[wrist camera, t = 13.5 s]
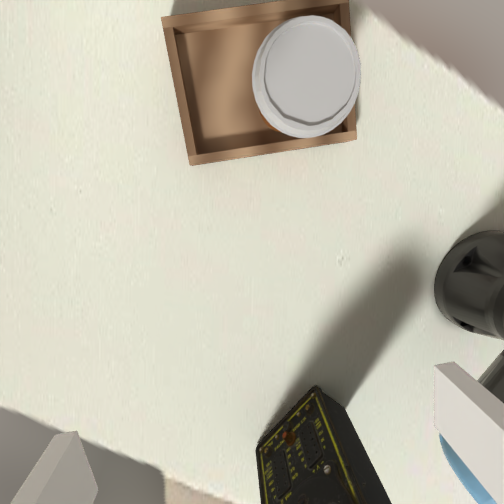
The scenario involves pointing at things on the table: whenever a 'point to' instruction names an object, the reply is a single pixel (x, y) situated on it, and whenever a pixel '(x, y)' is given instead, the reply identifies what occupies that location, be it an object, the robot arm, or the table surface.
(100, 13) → the table surface
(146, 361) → the table surface
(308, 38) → the disposable coffee cup
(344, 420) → the voltmeter
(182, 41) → the trough tray
